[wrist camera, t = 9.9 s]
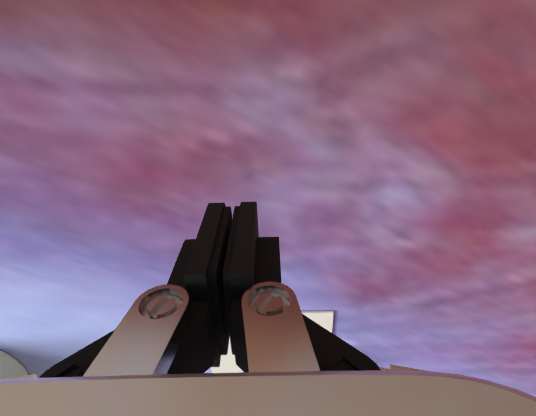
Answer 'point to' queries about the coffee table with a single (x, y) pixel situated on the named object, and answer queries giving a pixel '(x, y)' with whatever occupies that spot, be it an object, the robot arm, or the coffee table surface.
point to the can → (10, 367)
